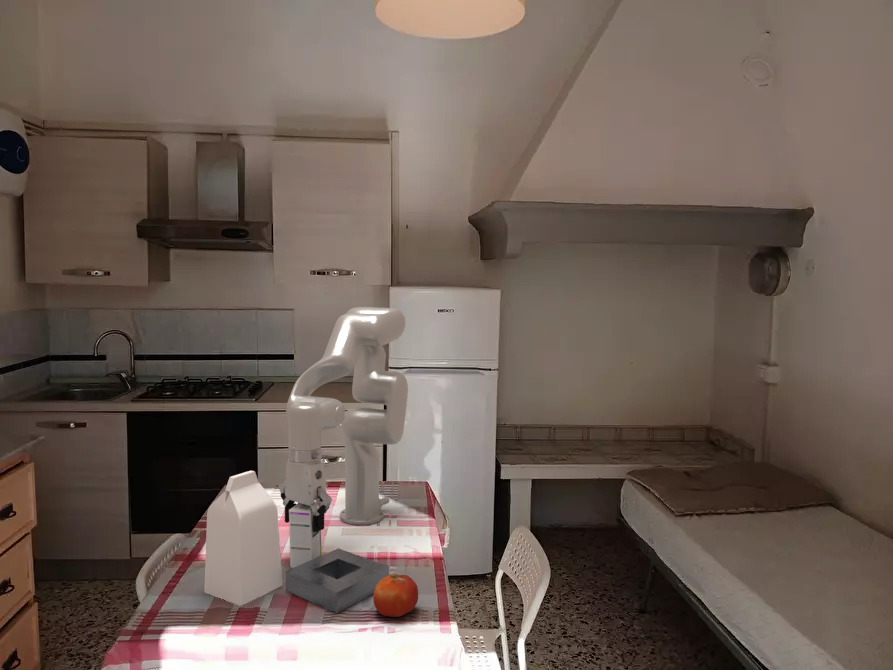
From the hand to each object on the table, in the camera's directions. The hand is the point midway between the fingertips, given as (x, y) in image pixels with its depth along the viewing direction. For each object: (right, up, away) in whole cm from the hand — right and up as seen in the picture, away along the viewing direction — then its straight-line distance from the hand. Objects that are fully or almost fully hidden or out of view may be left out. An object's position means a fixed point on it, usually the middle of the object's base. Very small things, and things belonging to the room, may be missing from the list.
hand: (304, 525), depth 164 cm
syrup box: (0, -10, +2) cm, 10 cm away
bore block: (+10, -11, -11) cm, 18 cm away
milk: (-11, -11, -11) cm, 19 cm away
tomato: (+23, -12, -21) cm, 33 cm away
